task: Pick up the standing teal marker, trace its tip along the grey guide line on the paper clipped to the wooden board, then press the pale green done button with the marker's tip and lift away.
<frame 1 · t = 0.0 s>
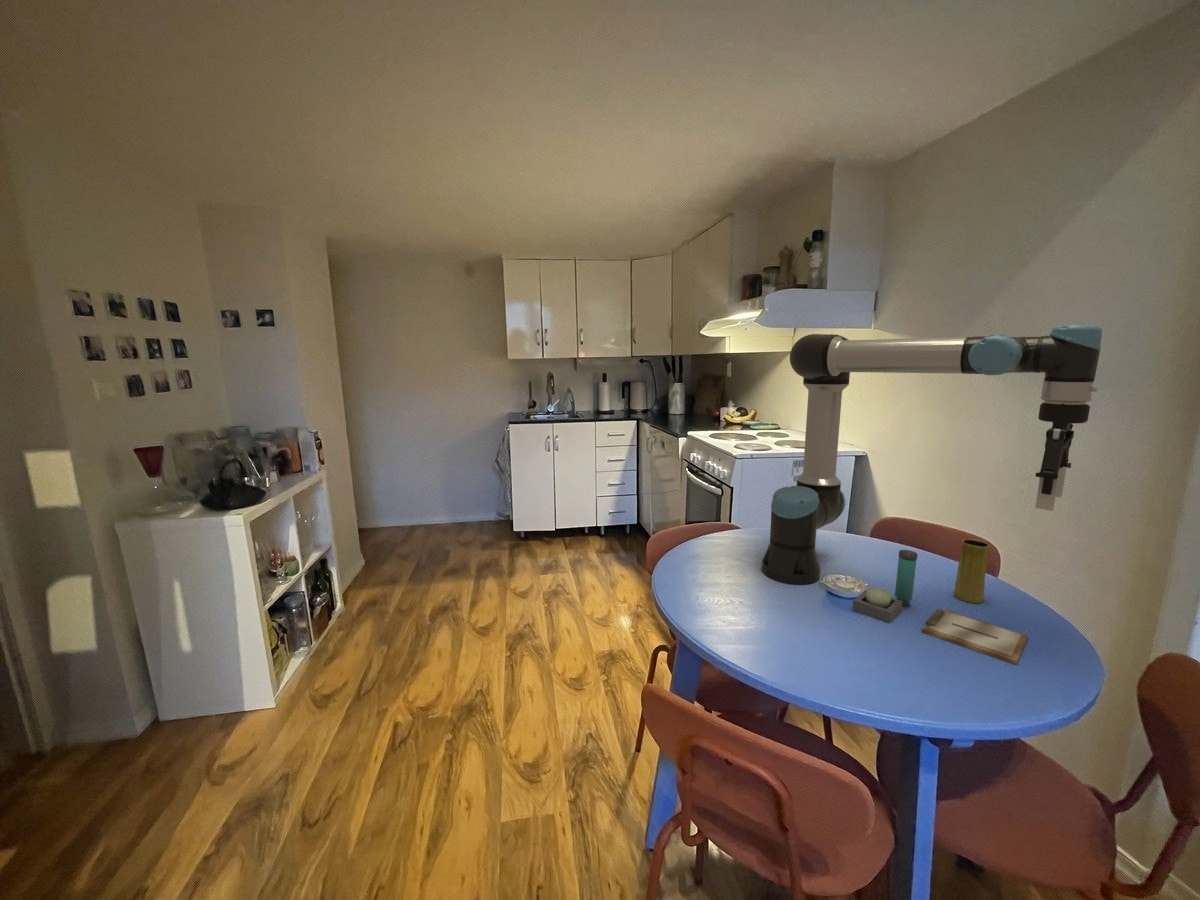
hand: (1048, 502, 106), 28 cm above the table, fingers open, 13 cm apart
vase: (968, 598, 123), on the table
drawing board: (973, 635, 106), on the table
button frame: (877, 610, 117), on the table
done button: (878, 597, 116), point 3 cm above the table, slide at 0.0 cm
marker: (902, 603, 120), on the table
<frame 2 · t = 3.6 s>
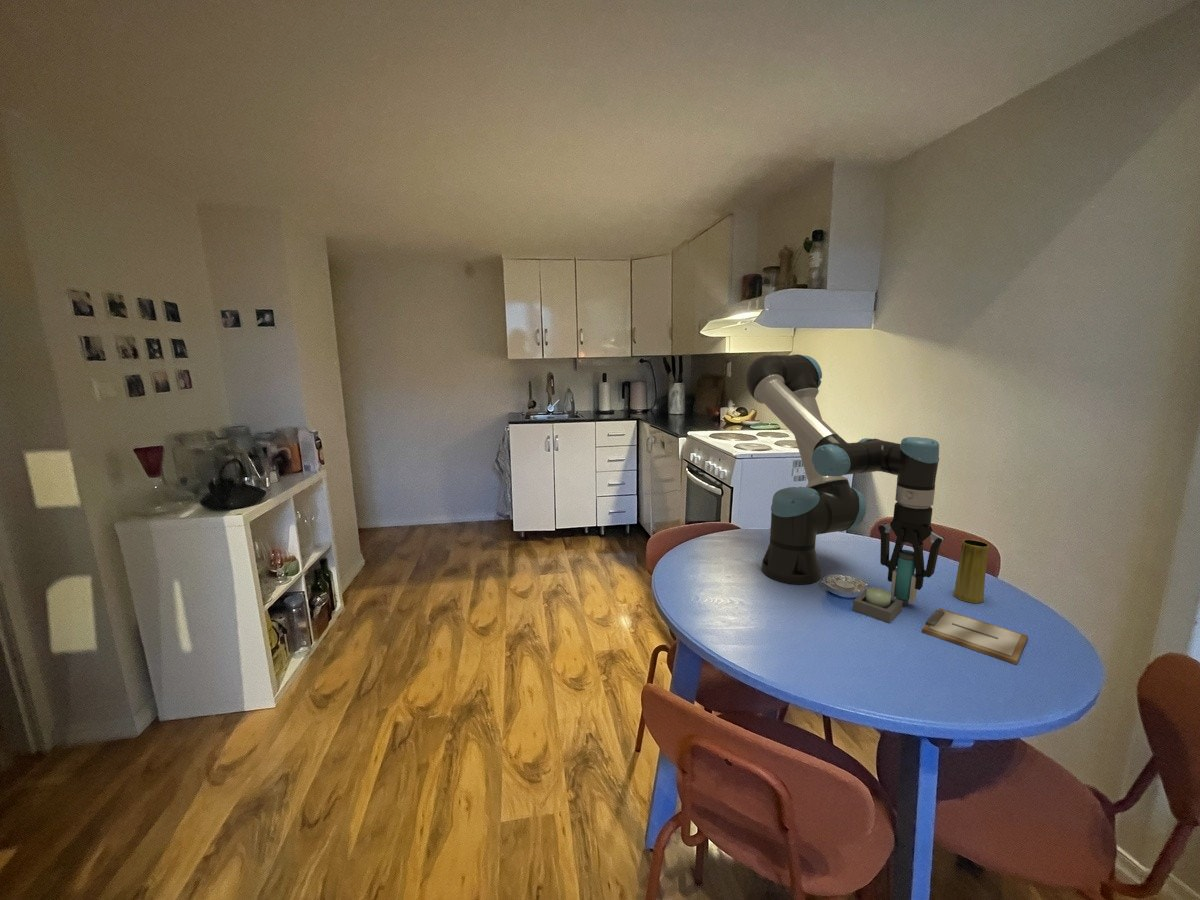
hand: (903, 597, 120), 2 cm above the table, fingers closed on marker, 3 cm apart
marker: (901, 603, 120), on the table, touching gripper
everything else where it was.
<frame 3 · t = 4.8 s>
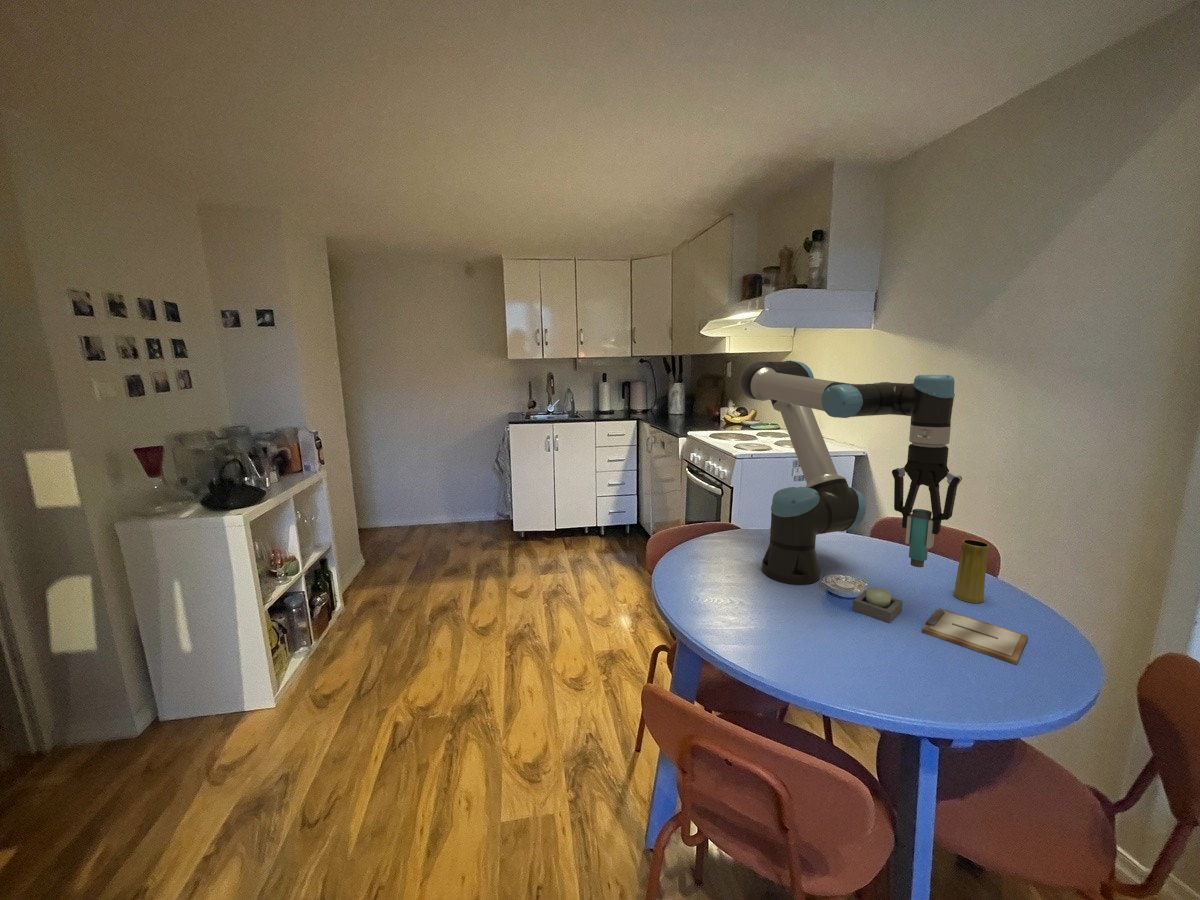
hand: (919, 544, 115), 16 cm above the table, fingers closed on marker, 3 cm apart
marker: (917, 565, 116), point 11 cm above the table, touching gripper
everything else where it was.
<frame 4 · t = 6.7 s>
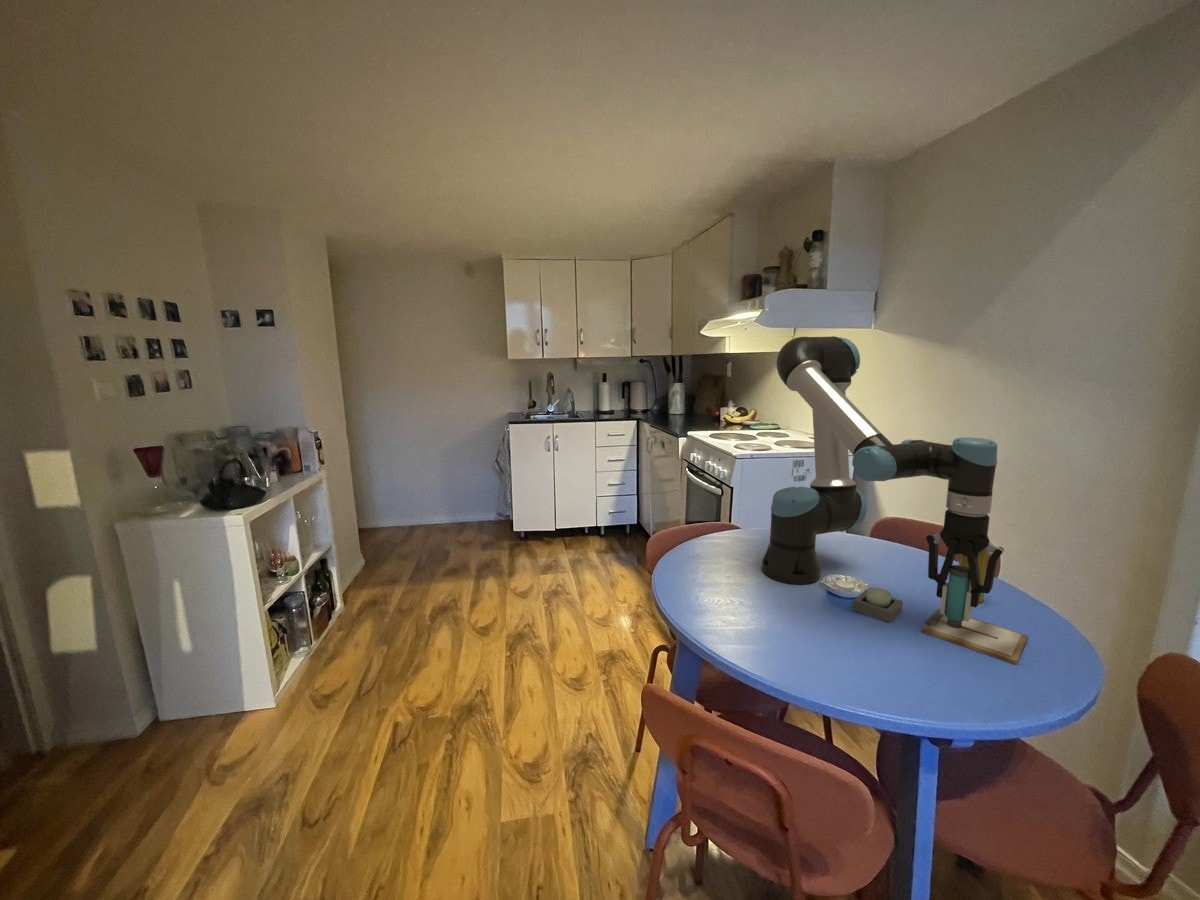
hand: (955, 615, 108), 3 cm above the table, fingers closed on marker, 4 cm apart
marker: (954, 624, 108), point 1 cm above the table, touching drawing board, gripper
everything else where it was.
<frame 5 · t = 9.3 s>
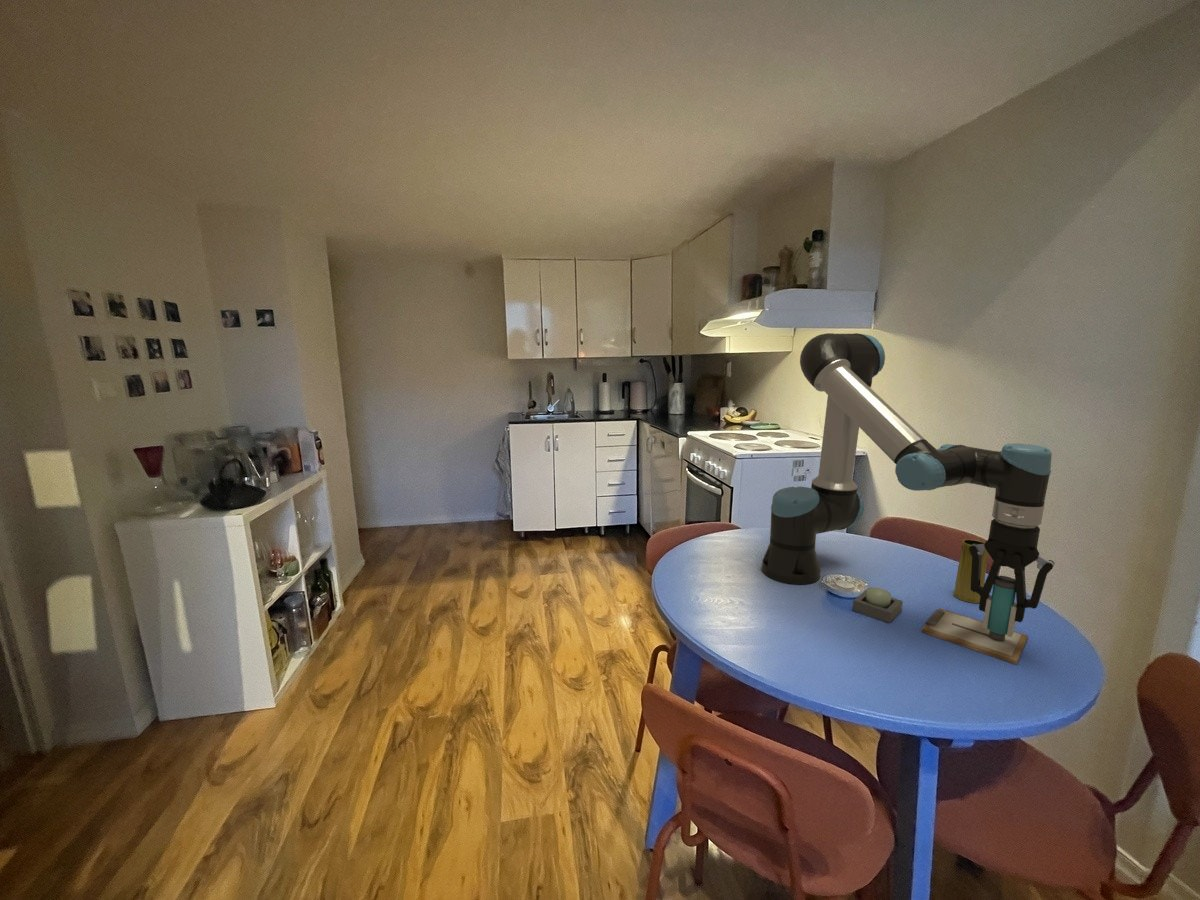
hand: (998, 629, 103), 3 cm above the table, fingers closed on marker, 3 cm apart
marker: (996, 637, 103), point 1 cm above the table, touching gripper
everything else where it was.
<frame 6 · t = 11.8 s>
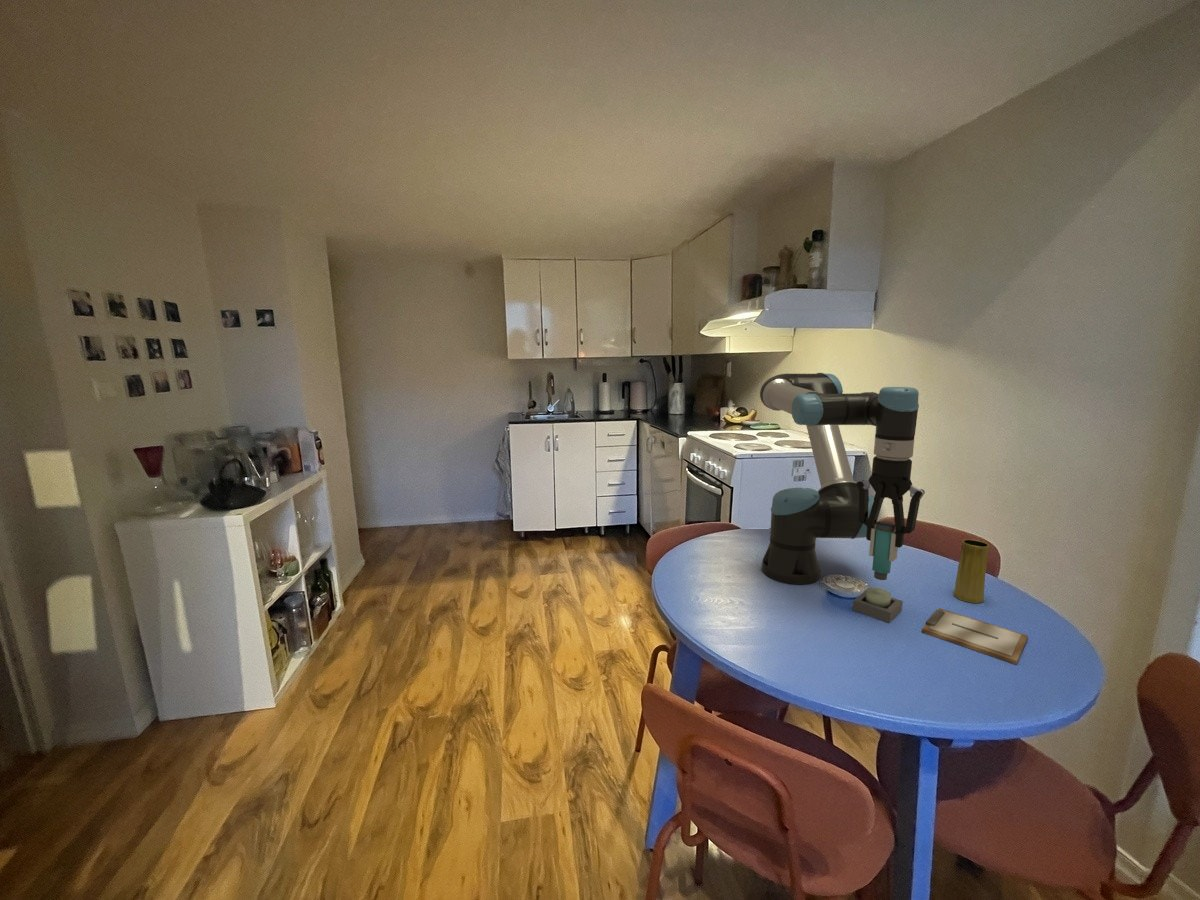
hand: (882, 556, 114), 13 cm above the table, fingers closed on marker, 3 cm apart
marker: (880, 577, 115), point 8 cm above the table, touching gripper
everything else where it was.
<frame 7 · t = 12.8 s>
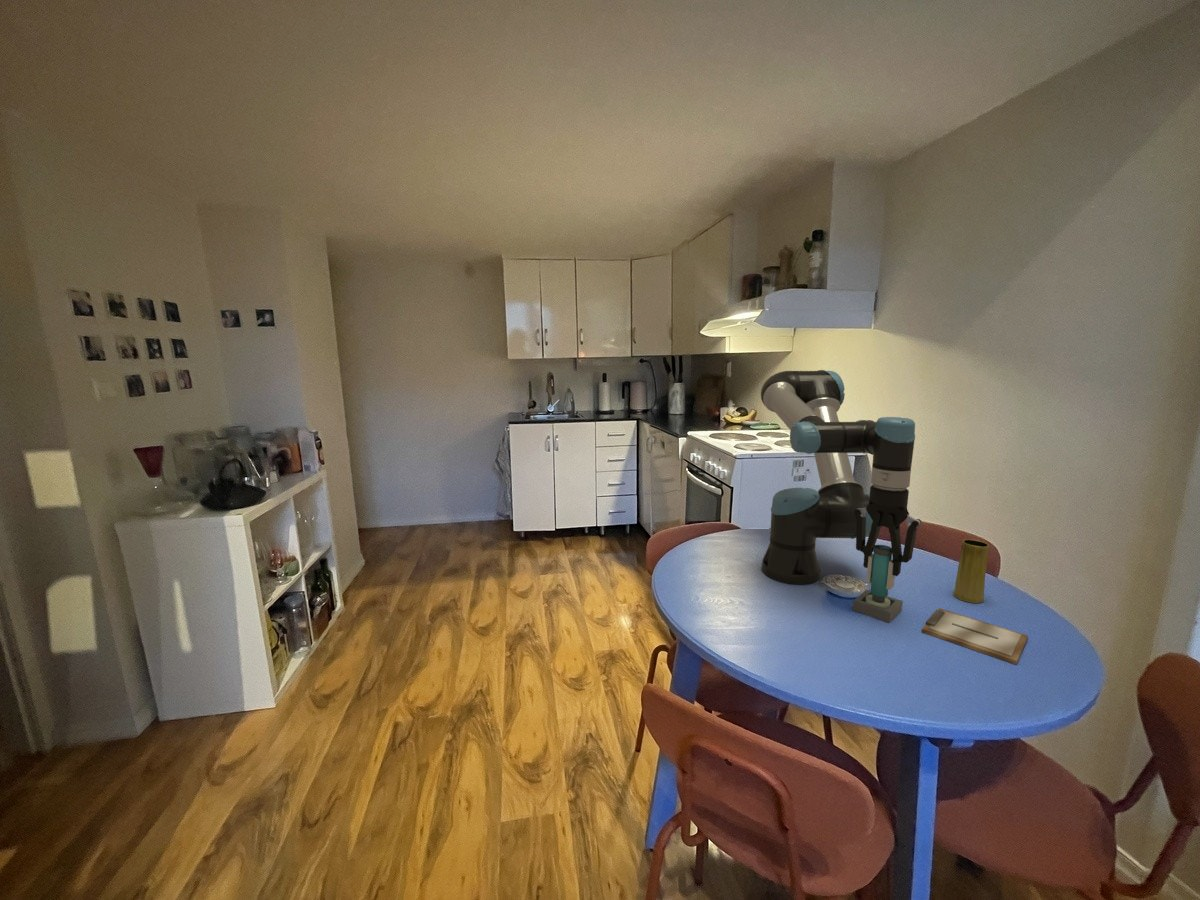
hand: (879, 584, 115), 7 cm above the table, fingers closed on marker, 4 cm apart
done button: (877, 605, 117), point 1 cm above the table, slide at 1.8 cm, touching marker
marker: (878, 600, 116), point 3 cm above the table, touching done button, gripper
everything else where it was.
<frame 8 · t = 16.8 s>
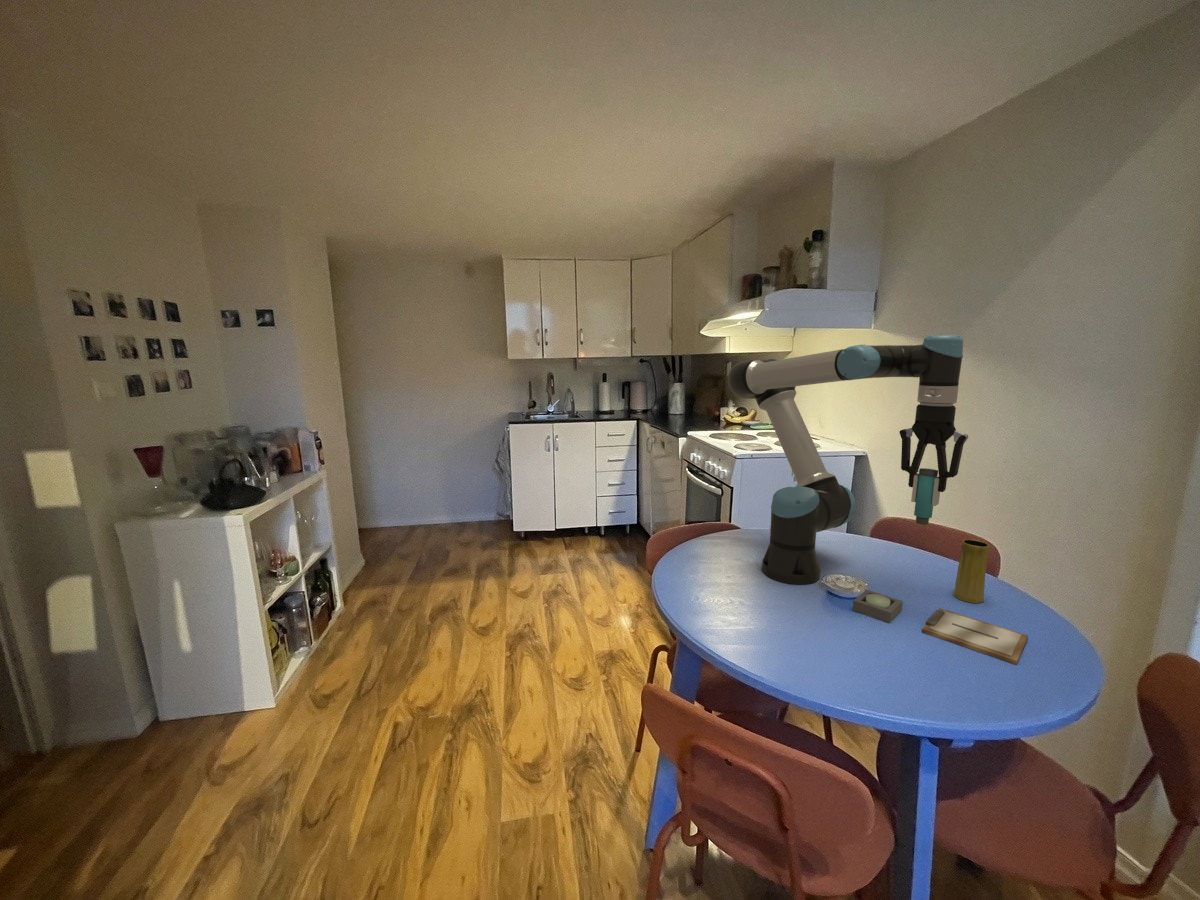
hand: (924, 502, 118), 25 cm above the table, fingers closed on marker, 3 cm apart
done button: (877, 604, 117), point 2 cm above the table, slide at 1.7 cm
marker: (921, 523, 119), point 20 cm above the table, touching gripper
everything else where it was.
at the end: done button slide at 1.7 cm; marker moved 20.1 cm from its start; the gripper is holding marker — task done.
